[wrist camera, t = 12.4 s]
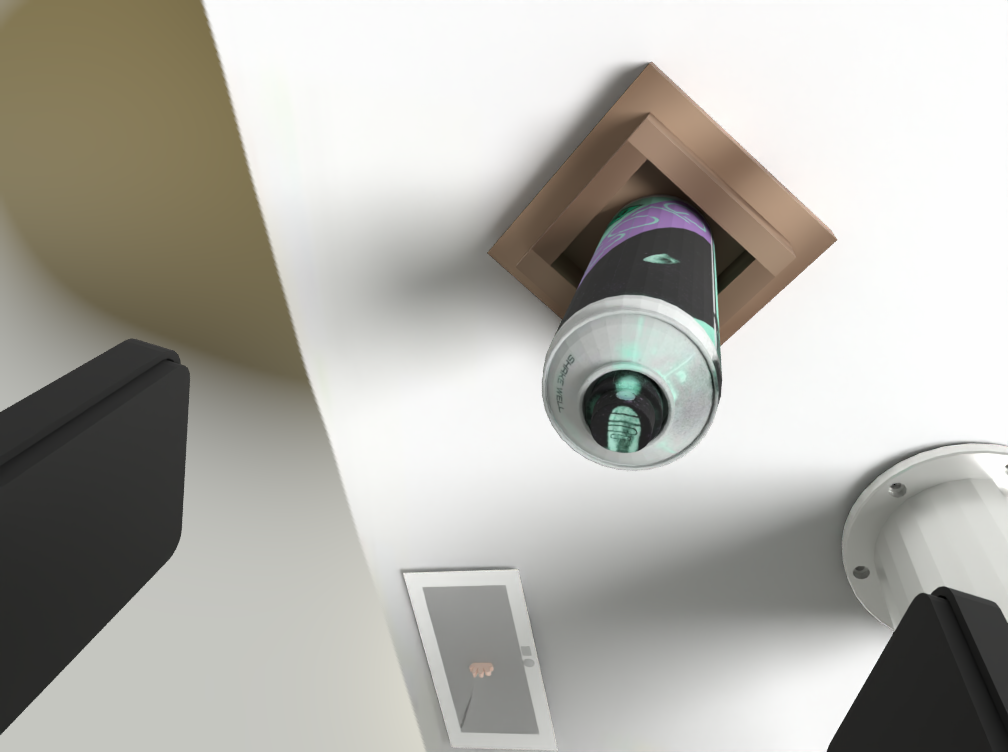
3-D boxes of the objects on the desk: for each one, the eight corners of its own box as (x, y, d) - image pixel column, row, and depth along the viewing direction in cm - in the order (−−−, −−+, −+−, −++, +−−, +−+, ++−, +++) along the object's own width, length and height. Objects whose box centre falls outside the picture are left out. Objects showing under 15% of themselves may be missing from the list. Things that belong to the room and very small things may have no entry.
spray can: (686, 173, 38) (671, 302, 21) (732, 275, 40) (757, 478, 22) (583, 224, 41) (488, 381, 23) (631, 319, 42) (576, 539, 24)
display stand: (831, 230, 40) (847, 255, 36) (658, 388, 45) (654, 428, 41) (651, 61, 39) (645, 66, 34) (495, 243, 44) (472, 268, 39)
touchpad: (455, 735, 60) (447, 759, 58) (408, 563, 54) (397, 583, 52) (560, 738, 57) (555, 763, 55) (521, 559, 52) (514, 579, 50)
